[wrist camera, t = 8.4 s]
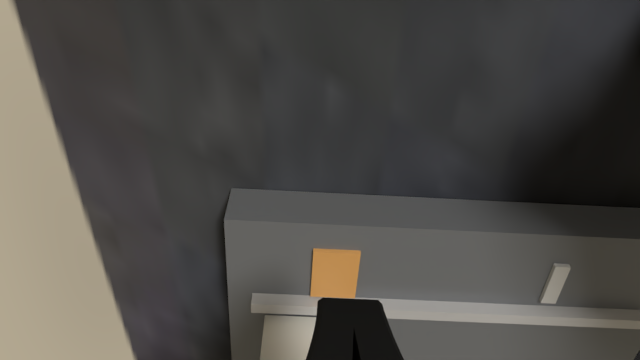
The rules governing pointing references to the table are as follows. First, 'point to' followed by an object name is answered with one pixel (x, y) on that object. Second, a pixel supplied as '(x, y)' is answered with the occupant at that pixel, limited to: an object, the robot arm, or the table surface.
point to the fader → (286, 337)
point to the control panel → (440, 272)
